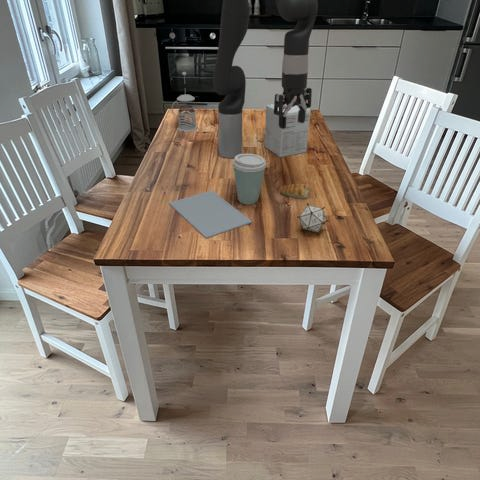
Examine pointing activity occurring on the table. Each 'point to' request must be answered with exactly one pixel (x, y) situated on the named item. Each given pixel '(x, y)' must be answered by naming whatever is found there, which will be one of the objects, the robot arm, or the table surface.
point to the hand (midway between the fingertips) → (291, 125)
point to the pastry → (295, 191)
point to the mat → (210, 213)
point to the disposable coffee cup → (248, 176)
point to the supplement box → (286, 132)
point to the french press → (186, 113)
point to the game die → (312, 218)
